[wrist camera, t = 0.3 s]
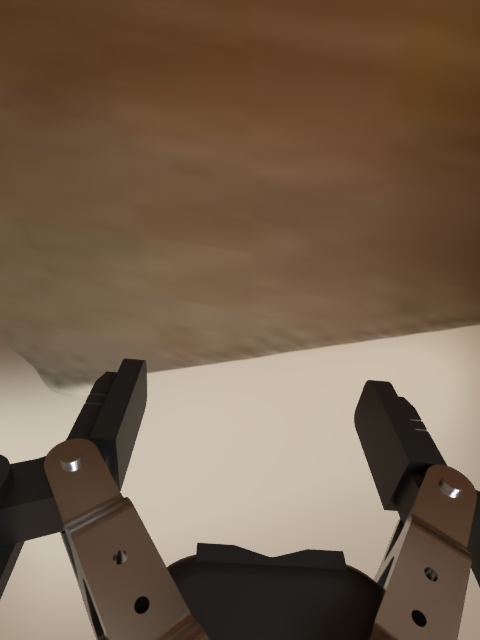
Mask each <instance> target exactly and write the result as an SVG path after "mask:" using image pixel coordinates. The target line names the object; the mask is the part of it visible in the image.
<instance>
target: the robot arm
mask: <svg viewBox="0 0 480 640" xmlns="http://www.w3.org/2000/svg"><path fill="white" fill-rule="evenodd" d="M146 401H147V368H146V361H145V360H136V359H123V361H122V363H121V366H120V368H119V370H118V373H117V372H106V373H105V374H104V375H102V376H101V377H100V378H99V379H98V380H96V382H95V384H94V386H93V388H92V390H91V392H90V394H89V396H88V398H87V400H86V403H85V404H84V406H83V408H82V410H81V412H80V414H79V416H78V418H77V420H76V422H75V424H74V426H73V428H72V430H71V432H70V434H69V436H68V438H67V439H66V441H64V442H62V443H60V444H58V445H56V446H55V447H54V448H52V450H51V451H50V452H49V453H48V454H47V456H45V457H42V458H39V459H35V460H29V461H25V462H19V463H14V464H10V463H9V461H8V459H7V458H5V457H4V456H2V455H0V599H1V596H2V594H3V592H4V589H5V587H6V585H7V582H8V580H9V577H10V575H11V573H12V570H13V568H14V565H15V563H16V560H17V558H18V556H19V553H20V551H21V549H22V546H23V544H24V542H25V541H26V540H30V539H34V538H38V537H42V536H46V535H50V534H53V533H57V532H60V533H61V536H62V539H63V542H64V544H65V547H66V550H67V553H68V556H69V558H70V562H71V564H72V567H73V570H74V573H75V576H76V579H77V582H78V585H79V588H80V591H81V594H82V598H83V601H84V604H85V607H86V610H87V613H88V617H89V620H90V622H91V625H92V628H93V631H94V634H95V636H96V640H457V638H458V633H459V627H460V623H461V617H462V612H463V607H464V600H465V595H466V590H467V585H468V580H469V574H470V569H471V568H472V571H473V573H474V575H475V578H476V580H477V582H478V584H479V587H480V491H477V490H475V488H474V486H473V485H472V483H471V482H470V481H469V480H468V478H466V477H465V476H464V475H463V474H462V473H460V472H459V471H457V470H455V469H453V468H451V467H448V466H447V464H446V463H445V461H444V459H443V457H442V456H441V454H440V452H439V450H438V449H437V447H436V445H435V443H434V441H433V440H432V438H431V436H430V434H429V433H428V432H427V431H426V427H425V425H424V424H423V422H421V418H420V416H419V415H418V413H417V411H416V409H415V408H414V407H413V406H412V405H411V404H410V403H409V402H408V401H407V400H406V399H405V398H404V397H398V396H397V394H396V392H395V390H394V388H393V386H392V384H391V383H390V382H384V381H372V380H368V381H367V382H366V384H365V386H364V388H363V391H362V394H361V396H360V400H359V402H358V405H357V407H356V410H355V415H354V422H355V428H356V431H357V434H358V436H359V439H360V442H361V445H362V448H363V451H364V453H365V456H366V459H367V462H368V465H369V468H370V471H371V473H372V476H373V479H374V482H375V485H376V488H377V490H378V493H379V496H380V499H381V502H382V505H383V508H384V510H393V511H398V513H399V516H400V519H399V521H398V523H397V525H396V527H395V530H394V532H393V535H392V537H391V540H390V542H389V545H388V547H387V550H386V552H385V555H384V558H383V560H382V562H381V565H380V568H379V570H378V572H377V574H376V576H375V578H374V580H373V579H371V578H370V577H369V576H367V575H366V574H364V573H363V572H361V571H359V570H358V569H356V568H353V567H351V566H349V565H346V563H345V559H344V554H343V552H342V551H325V550H309V549H308V550H303V551H299V552H295V553H291V554H286V555H282V556H278V557H268V556H265V555H262V554H259V553H256V552H252V551H250V550H247V549H244V548H241V547H238V546H235V545H222V544H205V543H198V544H197V554H196V555H193V556H189V557H186V558H183V559H180V560H179V561H177V562H175V563H173V564H171V565H169V566H168V567H166V566H165V564H164V562H163V560H162V558H161V556H160V554H159V553H158V550H157V549H156V547H155V545H154V543H153V541H152V539H151V537H150V536H149V534H148V532H147V530H146V528H145V526H144V524H143V522H142V520H141V519H140V517H139V515H138V513H137V511H136V509H135V507H134V505H133V504H132V502H131V501H130V499H129V498H127V497H126V498H123V496H122V495H121V493H120V491H121V488H122V485H123V481H124V478H125V474H126V471H127V468H128V464H129V461H130V458H131V454H132V451H133V448H134V444H135V441H136V438H137V434H138V431H139V428H140V424H141V420H142V418H143V414H144V411H145V407H146Z"/></svg>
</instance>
